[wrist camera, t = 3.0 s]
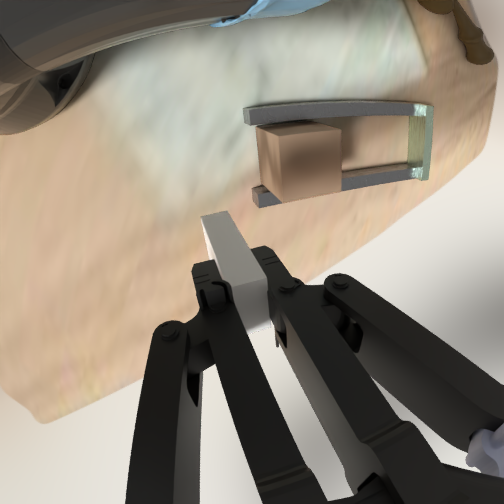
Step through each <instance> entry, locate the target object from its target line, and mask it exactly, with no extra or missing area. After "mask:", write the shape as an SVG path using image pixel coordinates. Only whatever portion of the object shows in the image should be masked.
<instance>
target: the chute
mask: <svg viewBox="0 0 504 504" xmlns="http://www.w3.org/2000/svg"><path fill="white" fill-rule="evenodd" d="M433 109H434V106H430V105H425V104H421V103H415V102H398V101H321V102H303V103H289V104H278V105H268V106H259V107H251V108H243V114H244V122H245V123H246V124H248V125H250V126H251V125H258V124H265V123H273V122H282V121H291V120H301V119H313V118H326V117H343V116H372V115H407V116H409V143H408V159H407V163H404V164H396V165H388V166H380V167H373V168H366V169H359V170H352V171H346V172H342V176H341V191H346V190H351V189H357V188H362V187H368V186H373V185H379V184H385V183H390V182H396V181H402V180H408V179H414V178H417V179H419V180H421V181H423V180H428V178H429V169H430V159H431V148H432V133H433ZM252 195H253V202H254V203H255V204H256V205H257V206H258V207H259V208H262V207H267V206H272V205H276V204H281V203H282V202H281V201H280V200H279V199H278V198H277V197H276V196H275V195H274V194H273V193H272V192H271V191H269V190H268V189H267V188H266V187H265V186H261V187H256V188H252Z"/></svg>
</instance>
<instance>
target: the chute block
mask: <svg viewBox="0 0 504 504" xmlns="http://www.w3.org/2000/svg"><path fill="white" fill-rule="evenodd" d="M256 137H257V147H258V157H259V167H260V177H261V183H262V184H263V185H264V186H265V187H266V188H267V189H268V190H269V191H271V192H272V193H273V194H274V195H275V196H276V197H277V198H278V199H279V200H280V201H281V202H282V203H287V202H292V201H297V200H302V199H307V198H311V197H316V196H321V195H327V194H332V193H337V192H341V176H342V140H341V129H337V128H334V127H331V126H328V125H324V124H321V123H317V122H314V121H300V122H290V123H281V124H272V125H265V126H257V127H256Z"/></svg>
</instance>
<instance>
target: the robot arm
mask: <svg viewBox="0 0 504 504" xmlns="http://www.w3.org/2000/svg"><path fill="white" fill-rule="evenodd" d="M328 1H330V0H0V135H11V134H17V133H21V132H24V131H26V130H29V129H31V128H34V127H37V126H39V125H41V124H43V123H44V122H46V121H48V120H49V119H51V118H52V117H53V116H55V115H56V114H57V113H58V112H60V111H61V110H62V109H63V108H64V107H65V106H66V105H67V104H68V103H69V102H70V100H71V99H72V98H73V97H74V95H75V94H76V93H77V91H78V90H79V88H80V87H81V85H82V84H83V82H84V80H85V78H86V76H87V74H88V72H89V70H90V67H91V64H92V62H93V58H94V54H95V52H97V51H100V50H103V49H106V48H109V47H112V46H116V45H119V44H122V43H126V42H129V41H133V40H136V39H140V38H144V37H148V36H152V35H156V34H161V33H165V32H170V31H175V30H180V29H185V28H191V27H197V26H204V25H210V26H212V27H223V26H229V25H233V24H236V23H239V22H241V21H244V20H246V19H254V18H265V17H279V16H290V15H296V14H299V13H303V12H305V11H307V10H309V9H311V8H314V7H317V6H320V5H322V4H324V3H326V2H328ZM201 221H202V226H203V231H204V236H205V240H206V245H207V250H208V255H209V259H210V260H208V261H204V262H200V263H196V264H194V266H193V268H192V271H191V272H192V276H193V281H194V285H195V289H196V296H197V299H198V303H199V306H200V308H199V312H198V313H197V315H196V316H195V317H194V318H193V319H191V320H190V321H188V322H186V323H182V322H180V321H174V320H171V321H167V322H164V323H162V324H160V325H159V326H158V327H157V328H156V329H155V331H154V333H153V336H152V341H151V345H150V350H149V354H148V359H147V364H146V369H145V374H144V379H143V384H142V389H141V394H140V400H139V406H138V411H137V417H136V423H135V430H134V436H133V443H132V450H131V457H130V465H129V473H128V481H127V490H126V501H125V504H200V438H201V407H202V385H203V384H202V382H203V371H204V370H205V369H207V368H209V367H211V366H212V365H214V364H216V367H217V370H218V374H219V377H220V381H221V384H222V387H223V390H224V394H225V396H226V400H227V403H228V406H229V409H230V412H231V415H232V418H233V422H234V425H235V427H236V430H237V433H238V436H239V439H240V442H241V445H242V448H243V451H244V454H245V456H246V459H247V462H248V465H249V467H250V470H251V473H252V476H253V478H254V481H255V484H256V487H257V490H258V493H259V495H260V498H261V500H262V503H263V504H504V385H502V384H500V383H499V382H498V381H496V380H495V379H494V378H492V377H491V376H489V375H488V374H487V373H486V372H485V371H483V370H482V369H480V368H479V367H478V366H477V365H475V364H474V363H473V362H471V361H470V360H469V359H467V358H466V357H465V356H463V355H462V354H461V353H459V352H458V351H456V350H455V349H454V348H452V347H451V346H450V345H448V344H447V343H445V342H444V341H443V340H441V339H440V338H439V337H437V336H436V335H434V334H433V333H431V332H430V331H429V330H428V329H426V328H425V327H423V326H422V325H420V324H419V323H418V322H416V321H415V320H413V319H412V318H411V317H409V316H408V315H406V314H405V313H404V312H402V311H401V310H399V309H398V308H396V307H395V306H393V305H392V304H391V303H389V302H388V301H386V300H385V299H383V298H382V297H380V296H379V295H378V294H376V293H375V292H373V291H372V290H370V289H369V288H367V287H366V286H364V285H363V284H361V283H360V282H359V281H357V280H356V279H354V278H353V277H351V276H349V275H346V274H341V273H339V274H332V275H329V276H328V277H327V278H326V279H325V281H324V285H305V284H304V283H303V282H302V281H301V280H300V279H297V278H295V277H292V276H291V275H290V273H289V272H288V270H287V269H286V268H285V266H284V265H283V263H282V262H281V261H280V259H279V258H278V257H277V255H276V254H275V252H274V251H273V250H272V249H271V248H269V247H267V246H261V247H257V248H253V249H250V248H249V247H248V245H247V243H246V241H245V240H244V238H243V236H242V235H241V233H240V231H239V230H238V228H237V226H236V225H235V223H234V221H233V220H232V218H231V216H230V215H229V213H228V211H223V212H219V213H214V214H210V215H206V216H201ZM271 321H272V322H273V324H274V327H275V340H276V347H279V343H280V345H281V347H282V349H283V351H284V353H285V355H286V357H287V359H288V361H289V363H290V365H291V367H292V369H293V371H294V373H295V374H296V377H297V379H298V381H299V383H300V385H301V387H302V388H303V390H304V392H305V394H306V396H307V398H308V400H309V402H310V404H311V406H312V408H313V410H314V412H315V414H316V415H317V417H318V419H319V421H320V423H321V425H322V427H323V429H324V431H325V433H326V434H327V436H328V438H329V440H330V442H331V444H332V446H333V448H334V450H335V452H336V453H337V455H338V457H339V459H340V461H341V463H342V465H343V467H344V470H345V477H346V479H347V482H348V484H349V486H350V488H351V490H352V492H353V494H354V496H351V497H347V498H343V499H338V500H333V501H327V499H326V497H325V495H324V493H323V491H322V489H321V487H320V485H319V483H318V481H317V479H316V477H315V475H314V473H313V472H312V471H311V469H310V468H308V467H307V465H306V464H305V462H304V460H303V458H302V456H301V453H300V451H299V449H298V447H297V445H296V443H295V441H294V439H293V436H292V434H291V432H290V430H289V428H288V426H287V423H286V421H285V419H284V417H283V414H282V412H281V410H280V408H279V406H278V403H277V401H276V399H275V397H274V395H273V392H272V390H271V388H270V385H269V383H268V381H267V379H266V376H265V374H264V372H263V369H262V367H261V365H260V362H259V360H258V358H257V356H256V353H255V351H254V349H253V346H252V344H251V341H250V339H249V337H248V334H251V333H254V332H257V331H261V330H264V329H267V328H271ZM370 376H371V377H372V378H373V379H374V380H376V381H377V382H378V383H379V384H380V385H381V386H382V387H384V388H385V389H386V390H387V391H388V392H389V393H390V394H392V395H393V396H394V397H395V398H396V399H397V400H398V401H399V402H401V403H402V404H403V405H404V406H405V407H406V408H408V409H409V410H410V411H411V412H412V413H413V414H414V415H416V416H417V417H418V418H419V419H420V420H421V421H423V422H424V423H425V424H426V425H427V426H428V427H429V428H431V429H432V430H433V431H434V432H435V433H437V434H438V435H439V436H440V437H441V438H443V439H444V440H445V441H446V442H448V443H449V444H451V445H452V446H454V447H456V448H458V449H460V450H462V451H464V452H467V453H468V455H467V456H466V464H467V465H468V466H469V467H476V468H478V469H479V470H480V471H481V473H478V472H474V471H470V470H466V469H462V468H458V467H455V466H451V465H447V464H444V463H441V462H440V460H439V459H438V457H437V456H436V454H435V453H434V452H433V450H432V448H431V447H430V445H429V444H428V442H427V441H426V439H425V438H424V437H423V435H422V434H421V432H420V431H419V429H418V428H417V427H416V426H415V425H414V424H413V423H411V422H410V421H403V420H401V419H400V418H399V417H398V416H397V415H396V413H395V412H394V410H393V409H392V407H391V406H390V404H389V403H388V402H387V400H386V399H385V397H384V396H383V394H382V393H381V391H380V390H379V389H378V387H377V386H376V384H375V383H374V381H373V380H372V378H371V377H370Z"/></svg>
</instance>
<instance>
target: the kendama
mask: <svg viewBox="0 0 504 504" xmlns="http://www.w3.org/2000/svg"><path fill="white" fill-rule="evenodd" d="M418 2H419V3H420V4H421V5H422V6H423V7H425V8H426V9H427V10H429V11H431V12H434V13H437V14H447V13H450V12H451V11H453V14H454V16H455V18H456V21H457V24H458V27H459V35H458V37H459V39H460V40H461V41H463V43H464V44H465V46H466V49H467V53H466V57H467V60H468V61H469V62H470V63H473V64H476V65H483V64H487V63H489V62H490V61H491V60H492V59H493V57H494V53H493V50H492V49H491V48H489V47H488V46H487V45H486V44H485V42H484V40H483V32H482V30H481V29H480V28H478V27H476V26H475V25H474V23H473V22H472V21H471V19H470V18H469V17H468V15H467V14H466V12H465V11H464V9H463V8H462V7H461V5H460V4H459V2H458V1H457V0H418Z"/></svg>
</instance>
